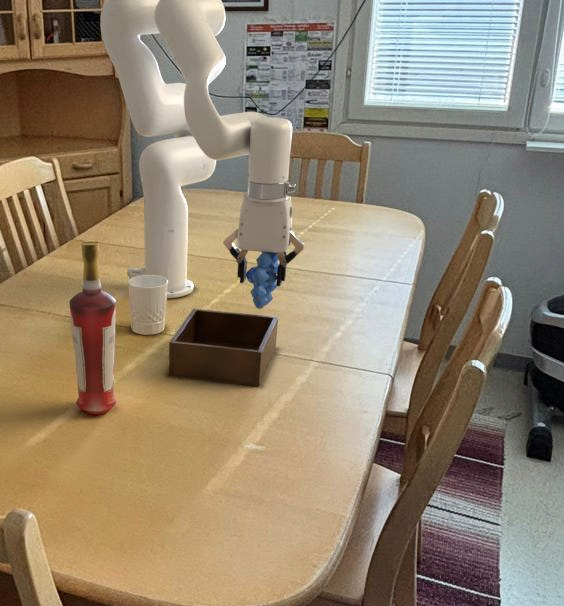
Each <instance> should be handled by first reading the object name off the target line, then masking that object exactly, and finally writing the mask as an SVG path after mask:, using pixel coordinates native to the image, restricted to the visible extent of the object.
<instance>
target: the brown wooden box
mask: <svg viewBox="0 0 564 606" xmlns="http://www.w3.org/2000/svg"><path fill="white" fill-rule="evenodd" d="M278 325H279V316H273V315H264V314H263V315H262V314H252V313H241V312H231V311H230V312H229V311H221V310H211V309H201V308H200V309H199V308H193V309H192V310H191V311H190V313H189V314H188V315H187V317H186V319H184V321H183V322H182V324H181V325H180V327H179V328H177V331H176V332H175V333H174V335H173V336H172V338H171V339H170V340H169V342H168V376H169V377H175V378H184V379H192V380H200V381H201V380H203V381H209V382H217V383H227V384H233V385H242V386H243V385H244V386H250V387H260V385H261V382H262V380H263V379H264V376H265V374H266V371H267V369H268V367H269V364H270V363H271V360H272V358H273V355H274V353H275V351H276V350H277V349H276V348H277V336H278V327H279V326H278Z"/></svg>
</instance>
